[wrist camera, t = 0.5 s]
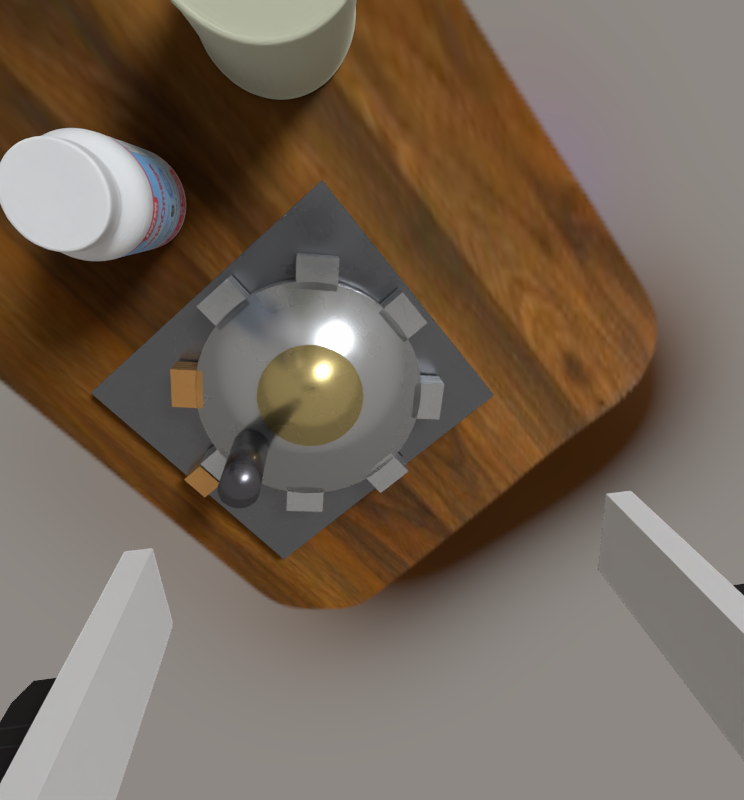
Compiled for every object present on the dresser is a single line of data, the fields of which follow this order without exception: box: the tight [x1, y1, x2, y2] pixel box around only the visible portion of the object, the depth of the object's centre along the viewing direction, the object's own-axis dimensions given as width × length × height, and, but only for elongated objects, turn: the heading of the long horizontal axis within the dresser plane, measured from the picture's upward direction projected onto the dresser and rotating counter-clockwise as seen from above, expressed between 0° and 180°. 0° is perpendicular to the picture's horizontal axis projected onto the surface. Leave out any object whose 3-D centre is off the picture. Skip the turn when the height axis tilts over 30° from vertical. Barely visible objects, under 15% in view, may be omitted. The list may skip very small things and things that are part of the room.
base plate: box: [91, 181, 493, 559], centre depth 37 cm, size 19×21×2 cm
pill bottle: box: [0, 128, 186, 261], centre depth 27 cm, size 6×6×11 cm
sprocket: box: [170, 253, 444, 512], centre depth 33 cm, size 18×18×8 cm
